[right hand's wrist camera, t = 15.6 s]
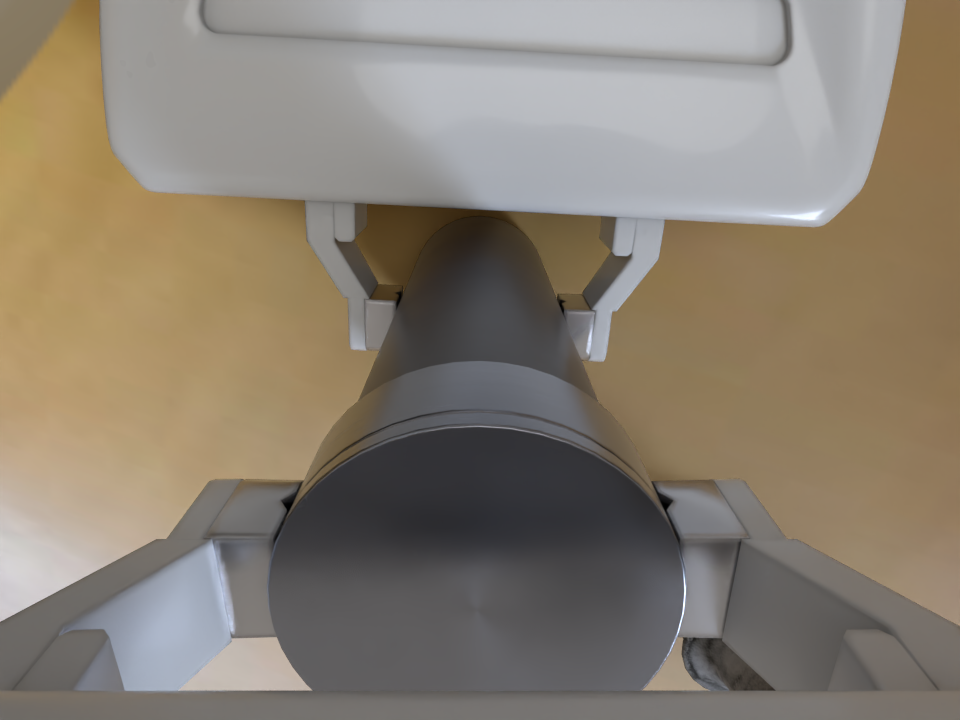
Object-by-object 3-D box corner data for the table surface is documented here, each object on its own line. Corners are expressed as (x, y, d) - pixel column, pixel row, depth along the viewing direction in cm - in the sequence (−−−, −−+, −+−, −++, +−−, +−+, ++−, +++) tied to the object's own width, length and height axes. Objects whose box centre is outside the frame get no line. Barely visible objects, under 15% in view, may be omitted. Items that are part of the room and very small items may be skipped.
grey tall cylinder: (445, 359, 26) (390, 748, 10) (393, 245, 24) (228, 503, 8) (561, 315, 25) (697, 661, 9) (517, 195, 23) (592, 372, 8)
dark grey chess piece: (640, 616, 31) (730, 904, 20) (695, 524, 29) (831, 786, 18) (744, 647, 31) (890, 940, 20) (806, 559, 29) (1004, 832, 18)
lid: (394, 679, 12) (377, 791, 10) (242, 432, 10) (184, 513, 8) (687, 591, 11) (731, 694, 9) (586, 304, 9) (614, 357, 7)
